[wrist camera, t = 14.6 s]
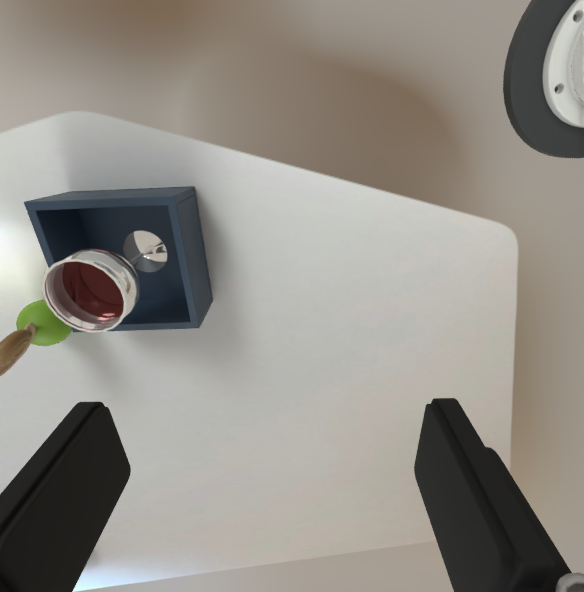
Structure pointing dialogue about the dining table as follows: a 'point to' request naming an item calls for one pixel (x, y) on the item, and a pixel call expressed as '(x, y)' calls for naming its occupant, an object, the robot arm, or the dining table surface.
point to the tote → (112, 233)
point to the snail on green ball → (32, 333)
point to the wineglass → (101, 282)
